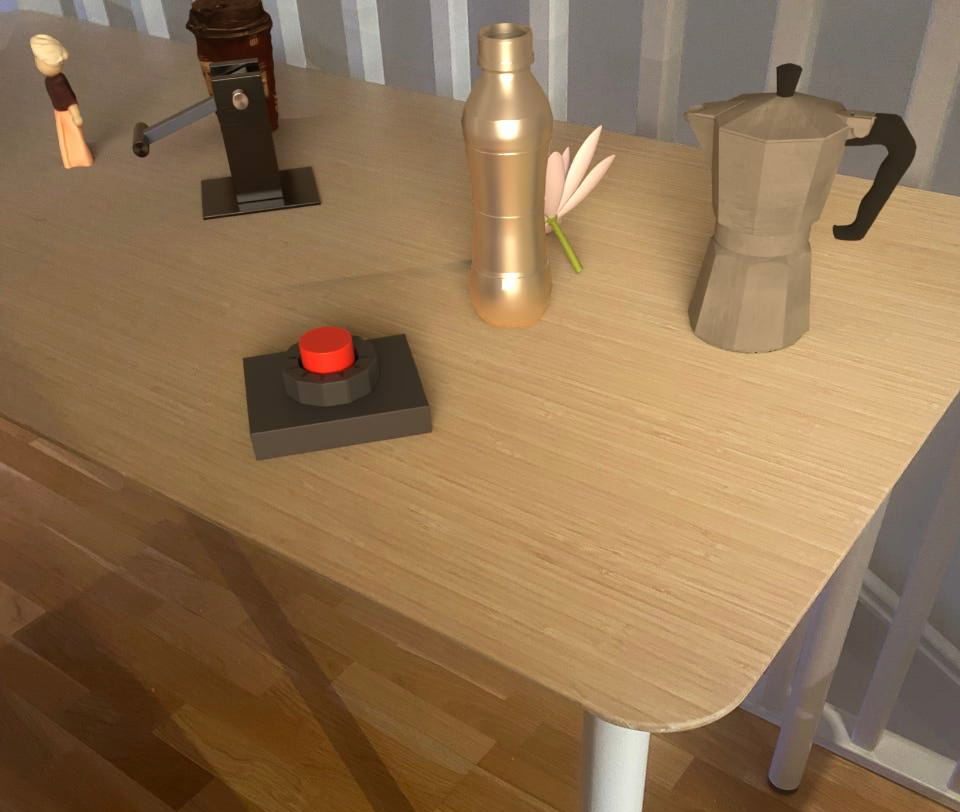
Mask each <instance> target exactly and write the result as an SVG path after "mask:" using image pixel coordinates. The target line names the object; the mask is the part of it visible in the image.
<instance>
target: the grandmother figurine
mask: <svg viewBox="0 0 960 812" xmlns="http://www.w3.org/2000/svg"><path fill="white" fill-rule="evenodd" d="M29 45H30V49H31V51H32V53H33V54H34V64H35V67H36V68H37V69H38V71H39V72H40V73H41V74H43V75H45V78H44V86H45V89H46V93H47V95H48V97H49V99H50V101H51V104H52V107H53V113H54V118H55V125H56V132H57V133H56V134H57V138H58V145H59V149H60V154H61V159H62V163H63V167H64V168H65V169H67V170H68V169H71V168H74V167H90V166H92V165H93V164H94V157H93V155H92V151H91V149H90V148H89V146H88V144H87V142H86V141H85V135H84V128H83V124H84V118H83V117H82V116H81V109H80V106H79V102H78V100H77V96H76V93H75V91H74V90H73V88H72V86H71V84H70V82H69V80H68V78H67V77H66V75H65V73H64V72H62V71H63V68H64V61H68V60H69V58H70V53H69V51H68V49H66V47H65V46H64V45H63V44H62V43H61V42H60V41H58V39H57V38H55V37H54V36H51V35H48V34H44V33H37V34H34V35H32V37H30V40H29Z"/></svg>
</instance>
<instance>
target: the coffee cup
mask: <svg viewBox="0 0 960 812" xmlns="http://www.w3.org/2000/svg"><path fill="white" fill-rule="evenodd" d="M190 5H191V8H190V9H189V10H188V11H189V13H188V20H187V21H186V23H185V29H186V30H188V31H189V32H190V33H192V34H193V36H194V38H195V43H196V56H197V59H198V63H199V65H200V70H201V73H202V76H203V79H204V83H205V86H206V90H207V93H208V95H209V96H208V97H210V96H212V95H214V94H213V90H212V85H211V80H210V77H211V72H210V68H209V63H215V62H224V61H233V60H242V59H250V58H258V61H259V67H260V72H261V76H262V82H263V87H264V93H265V98H266V103H267V109H268V114H269V120H270V125H271V130H272V134H273V133H274V132H276V131H278V129H279V117H280V113H279V103H278V95H277V94H278V93H277V89H276V74H275V62H274V56H273V55H274V53H273V52H274V47H273V42H272V39H273V38H272V33H271V31H272V29H273V27H274V22H273V19H272V16H271V14H270V13H269V12H268V11H266V10H265V8H264V7H263V2H262V0H194V1H192V3H190ZM214 114H215V115H216V117H217V121H218V124H219V128H220V129H221V126H220V122H219V117H218V113H217V111H215V112H214ZM220 132H221V133H222V131H221V130H220Z"/></svg>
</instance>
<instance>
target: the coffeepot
mask: <svg viewBox="0 0 960 812" xmlns="http://www.w3.org/2000/svg"><path fill="white" fill-rule="evenodd" d="M775 68H776V73H775V74H776V75H775V77H776V91H775V92H752V93H751V92H750V93H741V94H739V95H737V96H734V97H731V98H730V99H728V100H722V101H721V100H720V101H711V102H701V104H693V105H691V106H690V107H688V108H687V109H686V110H685V111H684V112H683V114H682V116H681V119H682V120H684V121H685V122H687V123H688V124H689V126H690V128H691V129H692V132H693V134H694V135H695V137H696V139H697V142H698V144H699V146H700V148H701V151H702V153H703V155H704V158H705V161H706V163H707V165H708V168H709V170H710V174H711V206H712V207H711V208H712V212H713V214H714V217H715V225H714V230H713V234H712V235H711V236H710V237H709V240H708V243H707V247H706V250H705V252H704V253H705V254H704V256H703V259H702V262H701V266H700V269H699V273H698V277H697V280H696V283H695V286H694V290H693V292H692V296H691V300H690V303H689V306H688V309H687V313H688V317H689V324H690V328H691V330H692V332H693V334H694V336H696V337H698V338H699V339H700V340H702V341H703V342H704V343H706V344H709V346H710V345H711V346H713V347H715V348H718V349H721V350H724V351H729V352H734V353H741V352H742V353H741V354H746V353H745V352H748V353H747V354H756V353H755V352H766V353H770V352H769V351H772V352H775V351H774V350H777V351H781V350H783V348H784V349H786V347H787V348H788V346H789V347H791V346H792V345H795V344H796V343H797V342H798V341H799V340H800V339H801V338H802V336H803V335H805V334H806V333H808V332H809V331H810V313H811V310H810V309H811V282H812V281H811V279H812V247H811V243H810V240H809V239H810V234H811V229H812V226H813V225H814V224H815V223H817V222H818V221H820V219H821V217H822V213H823V212H824V208H825V206H826V202H827V200H828V197H829V195H830V192H831V189H832V186H833V184H834V181H835V178H836V175H837V174H838V170H839V167H840V164H841V161H842V158H843V156H844V154H845V150H846V147H865V146H873V145H877V146H878V145H879V146H884V147H885V148H886V151H887V152H888V153H887V156H886V157H885V158H884V159H883V161H882V162H881V163H880V165H879V167H878V168H877V172H876V174H875V177H874V180H873V182H872V184H871V186H870V188H869V190H868V191H867V192H866V193H865V194H864V196H863V197H862V198H861V200H860V203H859V205H858V208H857V212H856V217H855V219H854V220H853V222H851V223H849V224H843V225H841V224H840V225H839V224H838V225H837V224H833V225H832V235H833V238H834V239H835V240H839V241H845V242H846V241H847V242H856V241H857V242H859V241H861V240H863V239H864V238H865V237H866V235H867V234H868V232H869V231H870V229H871V227H872V226H873V225H874V222H876V219H877V218H878V216H879V214H880V213H881V211H882V210H883V208H884V206H885V205H886V203H887V202H888V200H890V197H891V196H892V194H893V193H894V191H895V189H896V187H897V186H898V184H899V183H900V181H901V180H902V178H903V177H904V175H905V174H906V172H907V171H908V169H909V168H910V167H911V165H912V163H913V161H914V160H915V157H916V152H917V148H918V147H917V142H916V140H915V138H914V136H913V135H912V132H911V131H910V129H909V127H908V126H907V124H906V122H905V121H904V119H903V118H902V116H901V115H899V114H897V113H886V112H875V111H870V110H869V111H868V110H857V109H849V110H848V109H847V108H846V107H845V105H844V104H843V102H842V101H841V102H840V101H837V100H832V99H828V98H825V97H820V96H815V95H812V94H807V93H803V92H799V91H796V89H797V86H798V85H799V84H798V83H799V81H800V79H801V75H802V73H803V70H804V69H803V67H802V66H801V65H799V64H797V63H792V62H787V63H782V64H780V65H778V66H776V67H775ZM790 345H791V346H790ZM750 352H751V353H750Z"/></svg>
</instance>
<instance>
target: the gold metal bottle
mask: <svg viewBox="0 0 960 812" xmlns="http://www.w3.org/2000/svg"><path fill="white" fill-rule="evenodd" d="M533 34H534V33H533V28H532V27H531V26H529V25H527V24H523V23H518V22H499V23H491V24H488V25H485V26H482V27H481V28H479V29H478V30H477V36H476V37H477V39H476V40H477V54H476V65H477V66H478V67H480V68H481V71H480V74H479V76H478V78H477V80H476V81H475V82H474V85H473V86H472V88H471V90H470V92H469V94H468V96H467V98H466V101H465V103H464V106H463V109H462V114H461V119H460V124H461V134H462V138H463V144H464V149H465V154H466V160H467V166H468V171H469V172H468V173H469V178H470V179H469V180H470V189H471V198H472V211H473V232H472V233H473V234H472V235H473V237H472V238H473V239H472V259H471V263H470V269H469V280H468V289H469V295H470V300H471V303H472V308H473V309H474V311H475V312H476V314H477V315H478V316H479V317H480V319H482V321H483V322H485V323H487V324H489V325H492V326H495V327H500V328H519V327H524V326H525V327H526V326H528V325H530V324H531V325H532V324H533V323H535V322H537V321H538V320H540V319H541V317H543V315H544V313H545V312H546V311H547V309H548V307H549V305H550V302H551V301H550V300H551V295H552V290H553V280H552V279H553V278H552V272H551V266H550V261H549V257H548V248H547V234H546V232H545V218H544V209H545V200H544V197H545V190H546V172H547V165H548V158H549V157H550V149H551V142H552V134H553V127H554V126H553V125H554V115H553V112H552V107H551V104H550V100H549V98H548V97H547V95H546V93H545V91H544V90H543V88H542V85H541V84H540V83H539V81H538V80H537V78H536V77H535V76H534V73H533V72H532V71H531V66H532V65H533V64H534V63H535V52H534V50H533V47H534V45H533V39H534V38H533Z"/></svg>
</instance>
